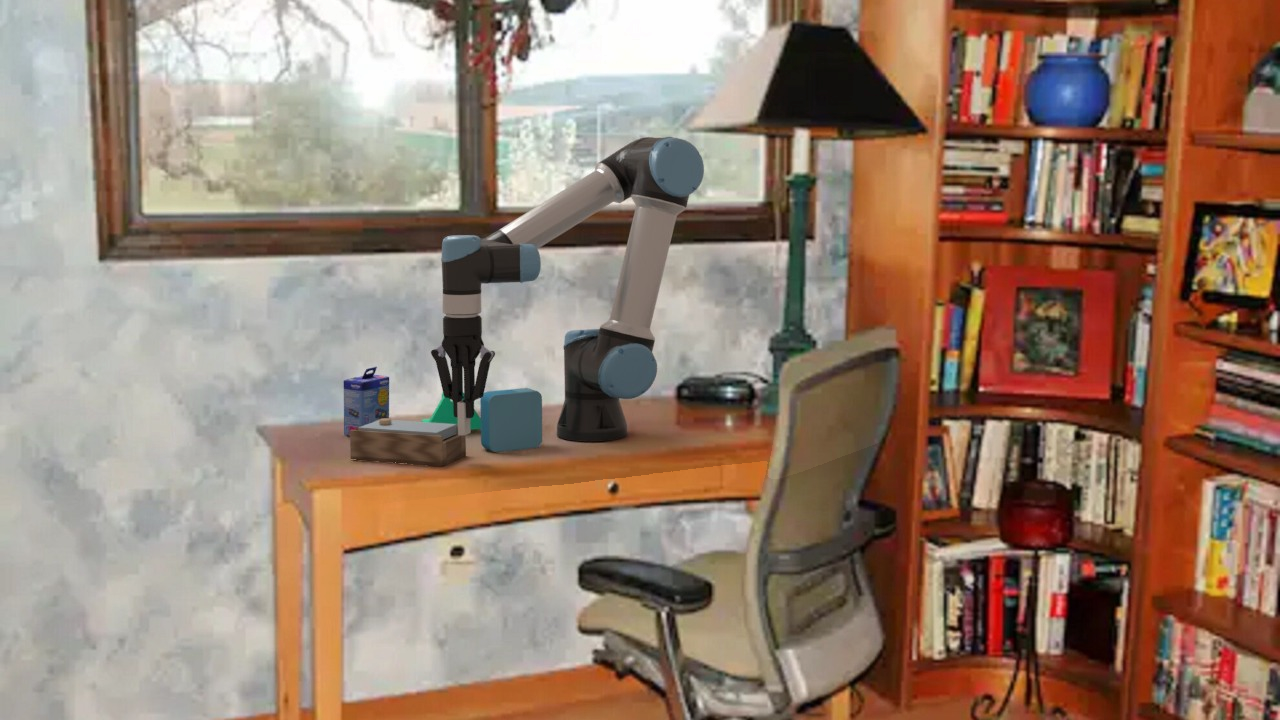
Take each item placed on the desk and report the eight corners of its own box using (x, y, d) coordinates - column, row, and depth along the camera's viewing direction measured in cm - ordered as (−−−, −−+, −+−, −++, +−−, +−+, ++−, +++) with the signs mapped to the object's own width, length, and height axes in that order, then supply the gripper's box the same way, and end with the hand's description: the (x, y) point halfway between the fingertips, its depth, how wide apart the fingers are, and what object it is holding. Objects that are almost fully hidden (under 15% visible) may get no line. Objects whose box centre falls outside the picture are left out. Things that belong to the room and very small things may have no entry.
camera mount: (473, 427, 340) (473, 381, 338) (483, 433, 333) (482, 386, 331) (420, 431, 336) (419, 384, 334) (428, 437, 328) (427, 390, 327)
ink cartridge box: (363, 438, 327) (361, 371, 325) (342, 436, 329) (340, 369, 327) (391, 430, 335) (390, 364, 333) (371, 428, 338) (369, 363, 336)
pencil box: (465, 455, 309) (465, 426, 309) (442, 466, 299) (441, 436, 298) (376, 449, 316) (376, 420, 315) (350, 459, 305) (349, 430, 304)
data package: (533, 443, 321) (532, 387, 320) (542, 447, 318) (542, 390, 316) (480, 449, 315) (479, 392, 314) (490, 453, 312) (489, 395, 310)
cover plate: (456, 433, 308) (456, 419, 308) (436, 442, 300) (436, 427, 299) (380, 428, 314) (380, 414, 313) (359, 437, 305) (358, 422, 305)
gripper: (500, 314, 301) (502, 432, 304) (440, 311, 305) (442, 428, 308) (485, 318, 294) (486, 439, 297) (423, 315, 298) (425, 435, 301)
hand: (464, 433), depth 303 cm, fingers closed
